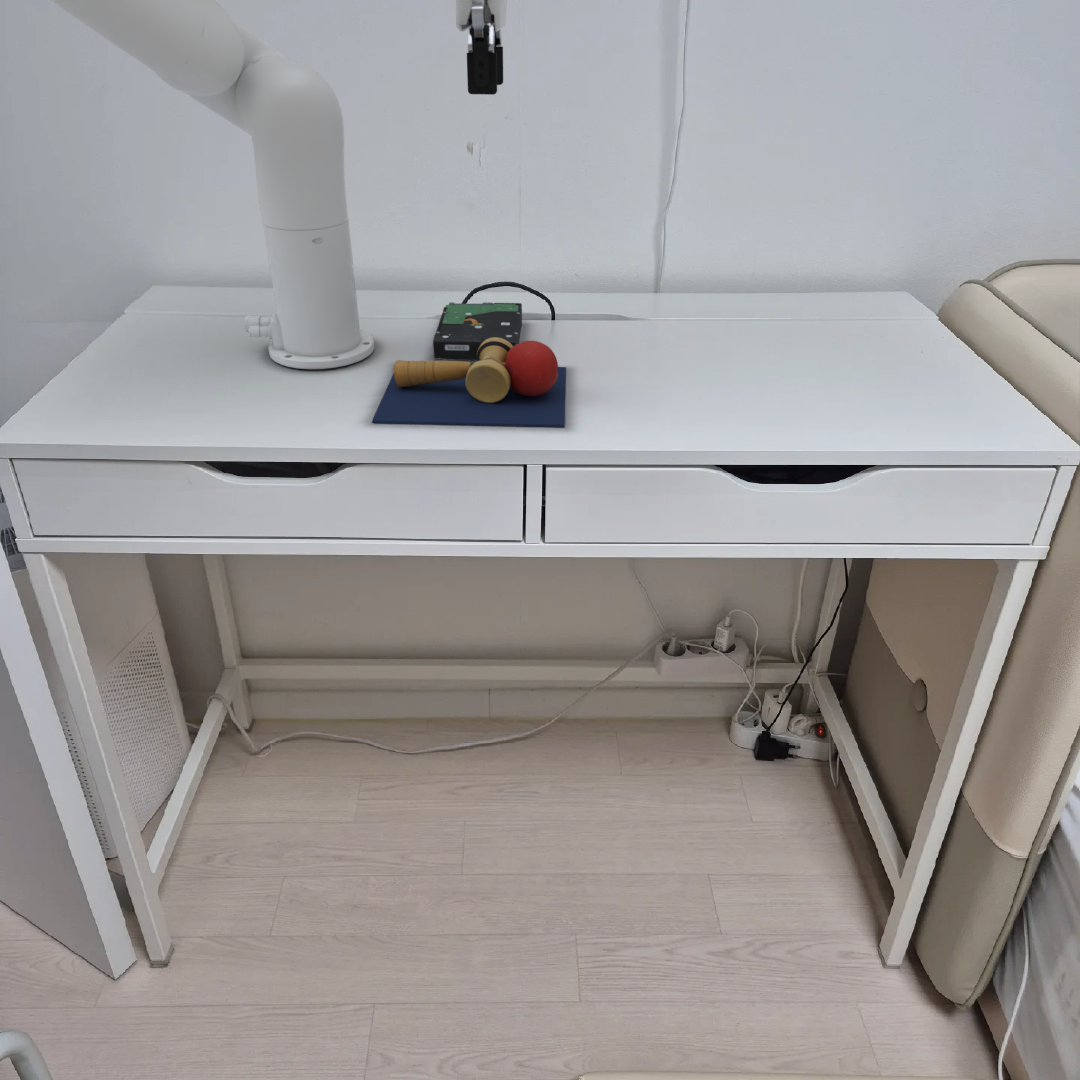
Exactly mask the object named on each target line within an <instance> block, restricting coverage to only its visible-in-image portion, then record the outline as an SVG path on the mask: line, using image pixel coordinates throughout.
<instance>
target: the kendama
mask: <svg viewBox="0 0 1080 1080" xmlns="http://www.w3.org/2000/svg"><path fill="white" fill-rule="evenodd" d="M558 367H559V364H558V359H557V356H556V354H555V352H554V351H553V349H551V348H550V347H549V346H548V345H547V344H545V343H543V342H541V341H538V340H524V341H521V342H519V343H518V344H517V345H515V346H514V347H513V346H512V344H511V343H509V342H508V341H506V340H505V339H502V338H498V337H492V338H489V339H486V340H485V341H484V342H483V343H482V344H481V345H480V347H479V349H478V351H477V360H476V361H475V362H473V361H464V360H407V359H406V360H402V359H400V360H399V359H398V360H395V361H394V365H393V373H394V377H395V382H396V384H397V386H398V387H407V386H412V385H420V384H428V383H436V382H446V381H452V380H458V379H463V378H466V380H465V383H466V388H467V390H468V392H469V393H470V394H471V395H472V396H473V397H474V398H475V399H477V400H479V401H481V402H485V403H495V402H498V401H500V400H502V399H503V398H504V397H505V396H506V395H507V393H508V390H509V388H510V387H511V388H512V389H513V390H514V391H515V392H517V393H519V394H521V395H524V396H538V395H541V394H543V393H545V392H547V391H548V390H549V389H550V388H551V387H552V386H553V384H554V383H555V382H556V380H557V377H558Z"/></svg>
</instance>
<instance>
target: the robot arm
mask: <svg viewBox="0 0 1080 1080" xmlns="http://www.w3.org/2000/svg"><path fill="white" fill-rule="evenodd" d="M51 1H52V2H53V4H55V5H56V6H58V7H60V8H61V9H62V10H63V11H65V12H66V13H68V14H70V15H71V16H72V17H74V18H75V19H77V20H78V21H79V22H81V23H82V24H84V25H85V26H87V27H89V28H90V29H91V30H93V31H94V32H96V33H97V34H99V35H100V36H101V37H103V38H104V39H105V40H107V41H108V42H110V43H111V44H113V45H114V46H116V47H117V48H119V49H121V50H122V51H123V52H125V53H127V54H128V55H129V56H131V57H132V58H134V59H136V60H137V61H138V62H140V63H141V64H143V65H144V66H146V67H147V68H149V69H150V70H151V71H153V72H154V73H155V74H156V75H157V76H158V77H159V78H160V79H161V80H162V81H163V82H165V83H166V84H167V85H169V86H170V87H172V88H173V89H176V90H177V91H180V92H181V93H184V94H186V95H187V96H189V97H190V98H192V99H193V100H195V101H197V102H198V103H200V104H201V105H203V106H205V107H206V108H208V109H209V110H211V111H212V112H214V113H215V114H217V115H218V116H220V117H222V118H223V119H224V120H226V121H228V122H230V123H231V124H232V125H234V126H235V127H237V128H239V129H240V130H242V131H243V132H245V133H247V134H248V135H249V136H251V142H252V147H253V154H254V155H253V156H254V166H255V167H254V168H255V177H256V186H257V187H256V188H257V195H258V201H259V202H258V203H259V208H260V216H261V222H262V223H261V224H262V227H263V231H264V232H263V233H264V238H265V245H266V252H267V258H268V264H269V265H268V266H269V271H270V278H271V279H270V280H271V284H272V289H273V290H272V292H273V297H274V305H275V312H276V313H272V314H271V315H270V317H269V316H262V315H260V316H259V315H246V316H245V318H244V328H245V331H246V332H247V333H248V335H249V336H250V338H263V337H264V338H269V340H271V341H270V342H269V343H268V353H269V357H270V358H271V360H272V361H274V363H277V364H279V365H281V366H284V367H286V368H287V367H288V368H293V369H300V370H326V369H327V370H328V369H335V368H341V367H345V366H349V365H354V364H355V363H358V362H361V361H362V360H365V359H366V358H368V357H369V356H370V355H372V353H373V351H374V350H375V341H374V338H373V336H372V335H371V334H370V333H368V332H367V331H365V330H362V329H361V327H360V319H359V308H358V298H357V289H356V279H355V269H354V261H353V260H354V259H353V250H352V240H351V239H352V238H351V229H350V220H349V214H348V213H349V211H348V204H347V202H348V201H347V192H346V181H345V127H344V125H345V124H344V118H343V112H342V109H341V104H340V102H339V99H338V97H337V95H336V92H335V90H333V88H332V86H331V85H330V83H329V82H328V81H327V79H326V78H325V77H324V76H323V75H322V74H320V73H319V72H318V71H317V70H316V69H314V68H313V67H311V66H309V65H306V64H305V63H303V62H299V61H297V60H295V59H291V58H289V57H288V56H286V55H285V54H283V53H282V52H280V51H279V50H277V49H276V48H275V47H274V46H272V45H271V44H269V43H268V42H267V41H265V40H264V39H262V38H261V37H260V36H258V35H257V34H256V33H254V32H253V31H251V30H249V29H248V28H247V27H245V26H244V25H242V24H241V23H240V22H238V20H236V19H235V18H233V17H231V15H230V13H229V12H228V11H227V10H226V9H225V8H224V7H223V6H222V5H221V4H220V3H218V2H217V1H216V0H51ZM507 5H508V0H455V27H456V29H457V30H458V31H459V32H465V31H467V30H468V31H467V33H468V34H467V52H466V75H467V77H466V79H467V92H468V94H469V95H489V96H490V95H496V94H497V93H498V86H501V85H503V83H504V46H502V28H504V27H505V25H506V19H507Z"/></svg>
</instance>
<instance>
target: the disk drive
mask: <svg viewBox="0 0 1080 1080" xmlns="http://www.w3.org/2000/svg"><path fill="white" fill-rule="evenodd" d="M522 322H523V304H522V303H521V302H482V303H455V302H454V301H453V302H452V301H451V302H450V301H449V303H448V304H446V305H445V306H444V307H443V309H442V314H441V315H440V319H439V322H438V324H437V327H436V330H435V333H434V336H433V340H432V347H433V358H434V359H435V360H445V361H478V360H477V351H478V349H479V347H480V345H481V344H482V343H483V342H484V341H485V340H486V339H489V338H492V337H498V338H502V339H505V340H506V341H508V342H509V343H511V344H512V346H513V347H514V346H515V345H517V344H518V343H520V341H521V331H522V326H523V325H522Z"/></svg>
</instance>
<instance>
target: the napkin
mask: <svg viewBox="0 0 1080 1080" xmlns="http://www.w3.org/2000/svg"><path fill="white" fill-rule="evenodd" d="M465 380H466V378H463V379H458V380H452V381H446V382H436V383H428V384H420V385H412V386H407V387H398V386H397V384H396V382H395V377H394V372H393V374H392V376H391V378H390V380H389V382H388V384H387V387H386V388H385V390H384V394H383V395H382V398H381V399H380V402H379V404H378V407H377V409H376V410H375V414H374V416H373V417H372V420H371V423H372V424H395V425H396V424H398V425H399V424H400V425H401V424H403V425H408V424H409V425H439V426H441V425H442V426H443V425H445V426H447V425H448V426H450V425H451V426H483V427H484V426H487V427H489V426H490V427H527V428H528V427H529V428H531V427H532V428H539V427H540V428H565V427H566V426H565V425H566V390H567V389H566V387H567V367H566V366H558V377H557V380H556V382H555V383H554V384H553V386H552V387H551V388H550V389H549V390H548V391H547V392H545V393H543V394H541V395H538V396H524V395H521V394H519V393H517V392H515V391H514V390H513V389H512V388H511V387H510V388H509V390H508V393H507V395H506V396H505V397H504V398H503V399H502V400H500V401H498V402H495V403H485V402H481V401H479V400H477V399H475V398H474V397H473V396H472V395H471V394H470V393H469V392H468V390H467V388H466V383H465Z"/></svg>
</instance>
